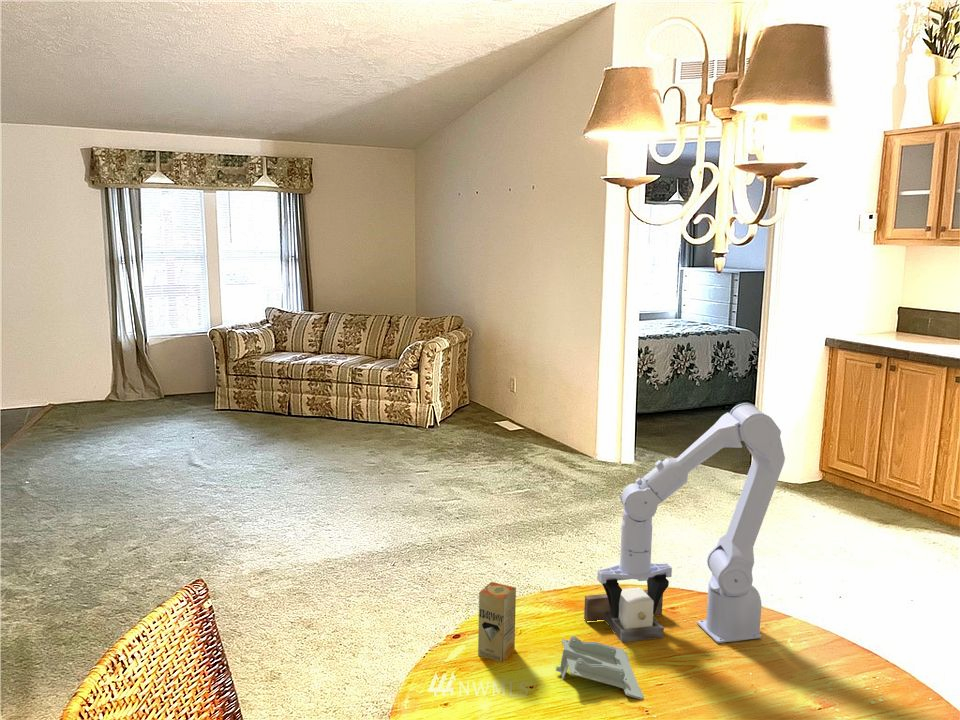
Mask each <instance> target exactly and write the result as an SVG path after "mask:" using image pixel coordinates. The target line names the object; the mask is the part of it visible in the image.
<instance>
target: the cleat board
mask: <svg viewBox="0 0 960 720" xmlns="http://www.w3.org/2000/svg"><path fill="white" fill-rule="evenodd" d="M642 590H643V591H644V592H645V593H646V594H647V595H648V589H642ZM663 598H664V593H663V594H662V596H661V598H660V600H659V603H658V606H657V609H656V612H655V614H653V615H659V616H662V615H663V601H664V599H663ZM583 610H584V611H583V612H584V613H583V614H584V615H583V620H584V619H585V620H586V621H597V620H605V621H606V622H607V623H608V624H609V626H610V627H611V628H612V629H611V628H610V627H609V626H608V627H609V628H610V629H611V631H612V630H613V631H614V632H615V633H614V632H613V631H612V632H613V633H614V634H615V636H616V635H617V636H616V637H617V638H618V640H619V641H620V640H621V641H622V642H621V643H629V642H637V641H645V640H646V641H647V640H653V639H654V640H655V639H664V631H665V628H664V626H663V625H662V624H661V623H660V622H659V621H658V620H657V619H656V617H655V616H653V625H652V626H650V627H641V628H632V629H625V628H624V627H623V626H622V625H621V624H620V622H619V621H618V620H617V619H616V618H614V617H613V616H612V615H611V611H610V605H609V601H608V597H607V594H606V593H601V594H591V595H585V596H584V609H583ZM585 620H584V621H585ZM605 621H604V622H605ZM606 622H605V623H606ZM607 623H606V624H607ZM608 624H607V625H608Z"/></svg>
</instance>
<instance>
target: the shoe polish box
mask: <svg viewBox="0 0 960 720" xmlns="http://www.w3.org/2000/svg"><path fill="white" fill-rule="evenodd" d="M516 598H517V587H515V586H510V585H506V584H502V583H498V582H494V581H491V582H490V583H488V584H487V585H486V586H485V587H483V588H482V589H481V590H480V591H479V592H478V632H477V633H478V636H477V637H478V639H477V640H478V645H477V649H478V650H477V653H478V654H477V656H480V657H483V658H486V659H490V660H494V661H497V662H500V663H504V662H505V661H506V660H507V659H508V658H509V657H510V655H511V654H512V653H513V652H514V651H515V649H516V608H517V607H516V604H517V603H516V601H517V599H516Z"/></svg>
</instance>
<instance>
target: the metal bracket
mask: <svg viewBox="0 0 960 720" xmlns="http://www.w3.org/2000/svg"><path fill="white" fill-rule="evenodd" d="M561 639H562V640H561V643H562V646H563V650H562V655H561V659H560V660H561V661H560V665H559V666H557V665H556V667H555V671H556V672H559V673H560V677H561V680H562V681H564V679H565V676H566V674H567V671H568V670H569V673H570V674H571V675H573V676H576V677H580V678H585V679H587V680H591V681H595V682H598V683H602V684H606V685H610V686H614V687H617V688H620V689H623V691H624V694H625V696H627V697H631V698H634V699H639V700H644V699H645V697H644V693H643V691H642V689H641V687H640V686H639V683H638V681H637V679H636V677H635V674H634V670H633V668H632V667H631V663H630V658H629V656H627V655H628V654H627V655H626V653H627V651H625V649H624V648H619V647H617V646H613V645H608V644H604V643H600V642H597V641H582V640H581V639H579V637H577V636H575V635H573V636H571V637H570V639H566V638H561Z"/></svg>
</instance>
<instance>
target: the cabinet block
mask: <svg viewBox="0 0 960 720" xmlns="http://www.w3.org/2000/svg"><path fill="white" fill-rule="evenodd" d="M621 589H622V592H621V596H620V601H619V616H618V618H616V619H617V620H618V621H619V622H620V624H621V625H622V626H623V627H624V628H625V629H632V628H641V627H650V626H652V625H653V617H654V616H653V605H654V601H653V600H652V599H651V598H650V597H649V596H648V595H647V594H646V593H645V592H644V591H643V590H644V589H642V587H640V586H639V587H629V588H621Z"/></svg>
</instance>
